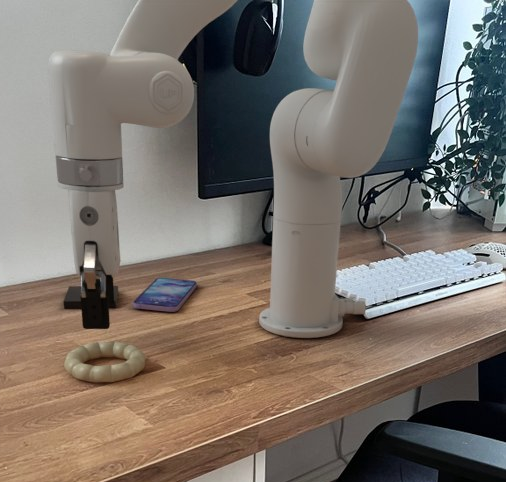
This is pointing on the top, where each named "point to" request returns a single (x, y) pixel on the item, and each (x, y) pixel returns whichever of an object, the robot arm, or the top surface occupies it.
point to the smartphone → (165, 294)
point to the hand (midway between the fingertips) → (99, 315)
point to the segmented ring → (104, 372)
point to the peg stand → (74, 299)
